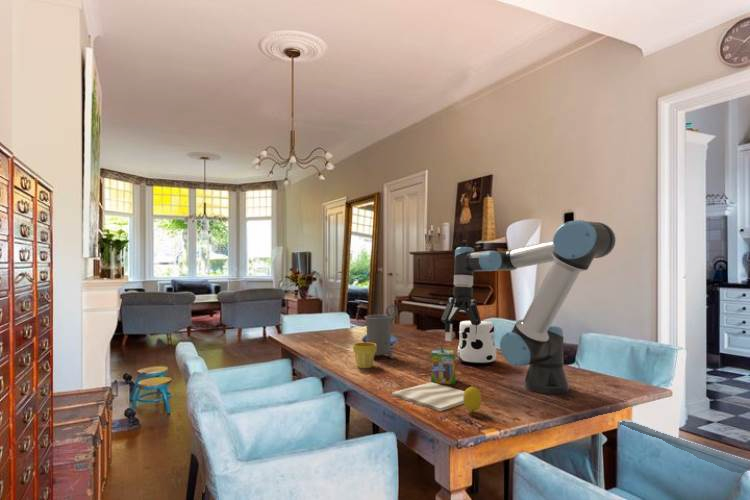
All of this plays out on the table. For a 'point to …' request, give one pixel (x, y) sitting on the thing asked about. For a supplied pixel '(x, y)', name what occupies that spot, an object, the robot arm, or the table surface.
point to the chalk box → (443, 366)
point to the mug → (380, 331)
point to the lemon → (472, 398)
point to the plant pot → (364, 354)
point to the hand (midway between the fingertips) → (460, 341)
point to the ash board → (432, 396)
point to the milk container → (477, 343)
